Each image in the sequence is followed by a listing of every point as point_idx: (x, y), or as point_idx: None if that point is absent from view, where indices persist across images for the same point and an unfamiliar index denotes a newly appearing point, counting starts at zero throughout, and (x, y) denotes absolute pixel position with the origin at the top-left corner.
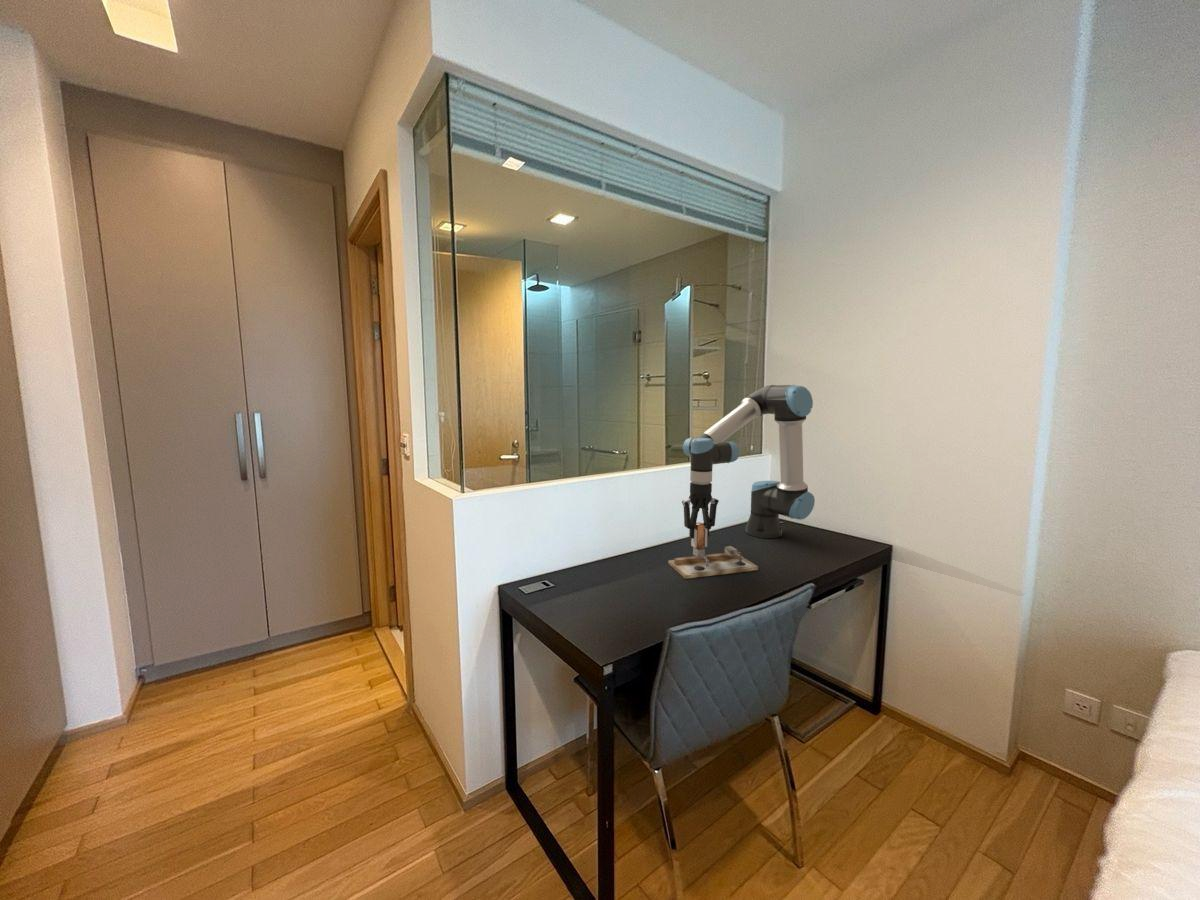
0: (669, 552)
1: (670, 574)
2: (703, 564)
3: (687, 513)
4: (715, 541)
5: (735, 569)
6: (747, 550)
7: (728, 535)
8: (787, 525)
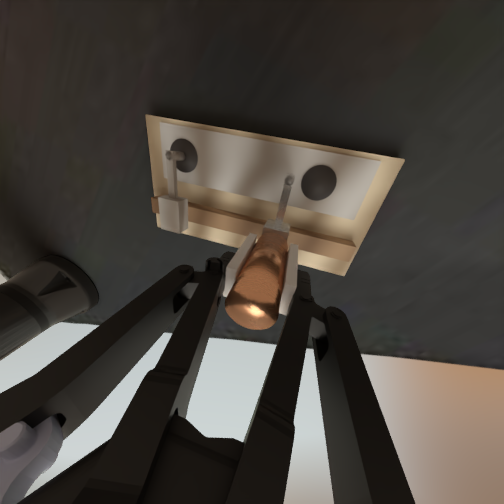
0: None
1: (401, 215)
2: None
3: (386, 437)
4: None
5: (218, 127)
6: (127, 238)
7: None
8: None
